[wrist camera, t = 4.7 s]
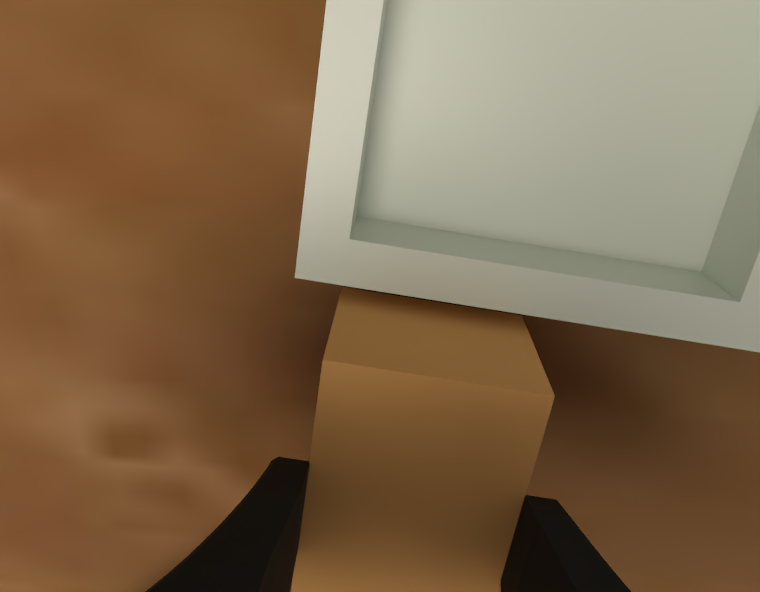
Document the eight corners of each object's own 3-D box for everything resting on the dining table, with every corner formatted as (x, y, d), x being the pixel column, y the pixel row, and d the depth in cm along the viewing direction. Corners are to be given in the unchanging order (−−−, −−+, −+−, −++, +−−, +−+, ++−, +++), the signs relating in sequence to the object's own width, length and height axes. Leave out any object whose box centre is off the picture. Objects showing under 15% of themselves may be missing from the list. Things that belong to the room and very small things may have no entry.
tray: (717, 309, 16) (770, 354, 14) (311, 243, 16) (294, 277, 14) (895, -174, 12) (1006, -225, 10) (373, -265, 12) (365, -337, 10)
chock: (466, 530, 17) (481, 649, 13) (310, 506, 17) (287, 621, 13) (521, 315, 15) (554, 395, 11) (342, 287, 14) (322, 359, 11)
